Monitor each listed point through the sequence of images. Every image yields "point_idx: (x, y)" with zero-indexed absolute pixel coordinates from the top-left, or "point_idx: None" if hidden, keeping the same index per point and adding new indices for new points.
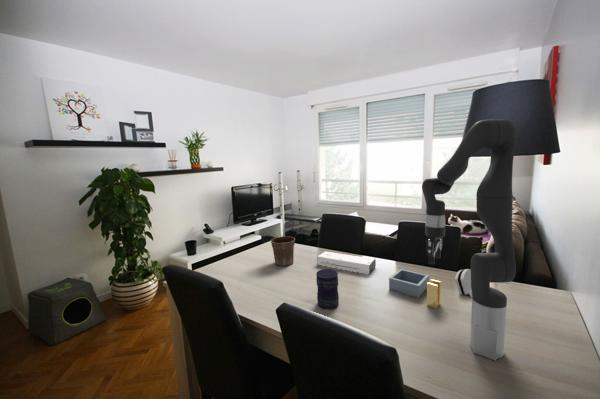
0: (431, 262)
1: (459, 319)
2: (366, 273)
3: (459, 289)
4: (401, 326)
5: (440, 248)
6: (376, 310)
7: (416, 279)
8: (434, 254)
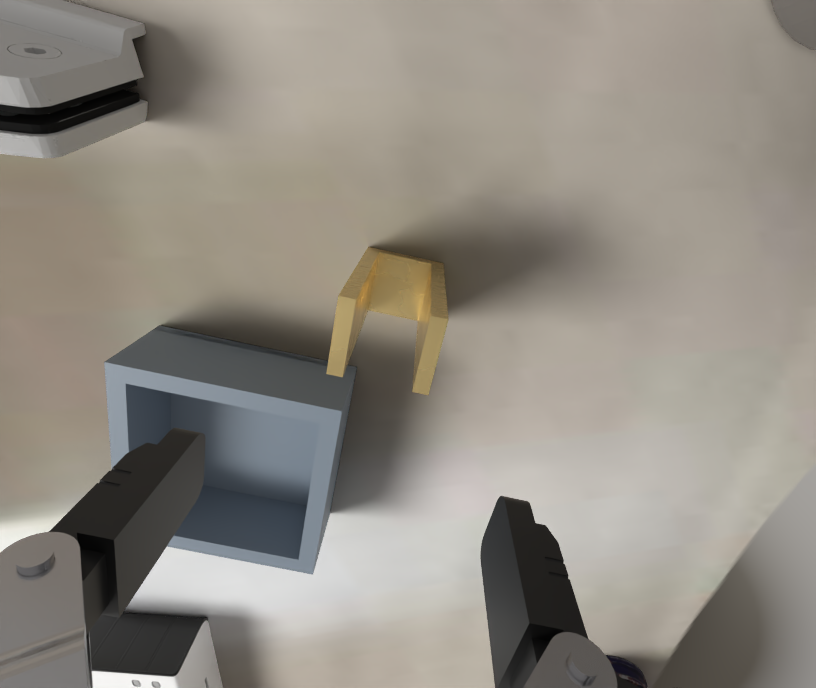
0: (553, 555)
1: (532, 119)
2: (207, 630)
3: (119, 119)
4: (706, 414)
5: (62, 596)
6: (584, 528)
7: (156, 415)
8: (569, 674)
